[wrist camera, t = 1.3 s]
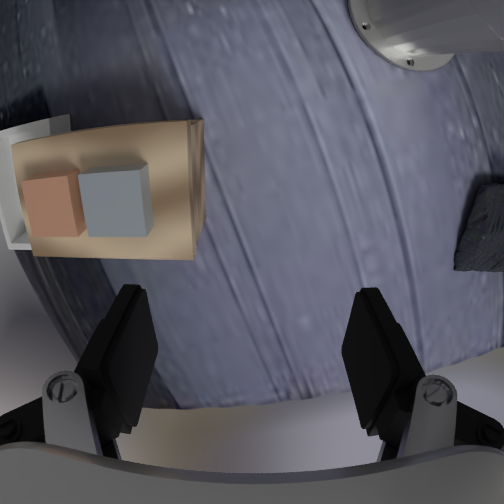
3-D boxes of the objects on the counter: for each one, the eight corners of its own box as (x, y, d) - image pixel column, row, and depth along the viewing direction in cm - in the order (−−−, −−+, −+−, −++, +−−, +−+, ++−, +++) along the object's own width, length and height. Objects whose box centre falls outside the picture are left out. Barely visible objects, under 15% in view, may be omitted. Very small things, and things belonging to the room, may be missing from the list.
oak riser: (56, 129, 27) (10, 145, 20) (203, 114, 27) (186, 121, 20) (69, 222, 32) (33, 256, 25) (206, 221, 32) (193, 260, 25)
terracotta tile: (34, 174, 21) (20, 181, 20) (79, 168, 22) (67, 175, 20) (44, 227, 24) (33, 237, 22) (88, 226, 24) (78, 236, 22)
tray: (6, 129, 26) (-15, 135, 23) (69, 113, 26) (49, 118, 23) (25, 234, 33) (8, 249, 29) (85, 234, 33) (70, 250, 30)
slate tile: (89, 167, 22) (77, 174, 20) (148, 163, 22) (139, 170, 20) (98, 226, 24) (88, 236, 22) (154, 226, 24) (146, 237, 22)
